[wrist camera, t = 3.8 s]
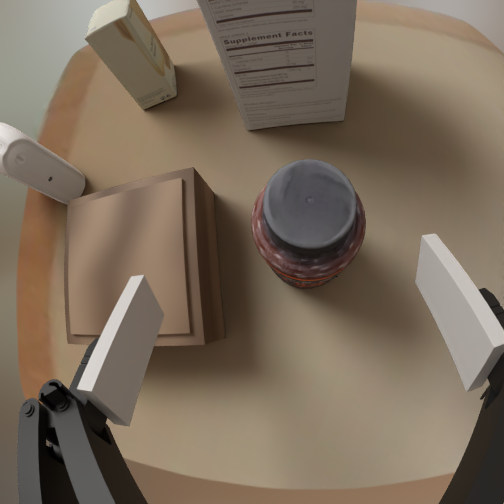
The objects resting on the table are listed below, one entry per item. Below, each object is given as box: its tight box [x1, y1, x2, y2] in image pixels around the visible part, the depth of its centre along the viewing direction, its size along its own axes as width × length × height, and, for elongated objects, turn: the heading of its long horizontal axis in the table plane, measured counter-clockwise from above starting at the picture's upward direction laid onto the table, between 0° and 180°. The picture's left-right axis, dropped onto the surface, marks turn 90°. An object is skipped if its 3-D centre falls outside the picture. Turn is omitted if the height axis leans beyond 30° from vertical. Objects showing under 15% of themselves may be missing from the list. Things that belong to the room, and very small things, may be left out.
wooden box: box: [64, 167, 225, 346], centre depth 22 cm, size 12×12×5 cm
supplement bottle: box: [251, 159, 366, 288], centre depth 17 cm, size 6×6×11 cm
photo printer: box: [0, 122, 86, 205], centre depth 23 cm, size 10×4×12 cm, turn 62°
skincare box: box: [84, 0, 177, 110], centre depth 23 cm, size 6×4×12 cm
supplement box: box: [197, 0, 357, 130], centre depth 18 cm, size 10×9×17 cm
